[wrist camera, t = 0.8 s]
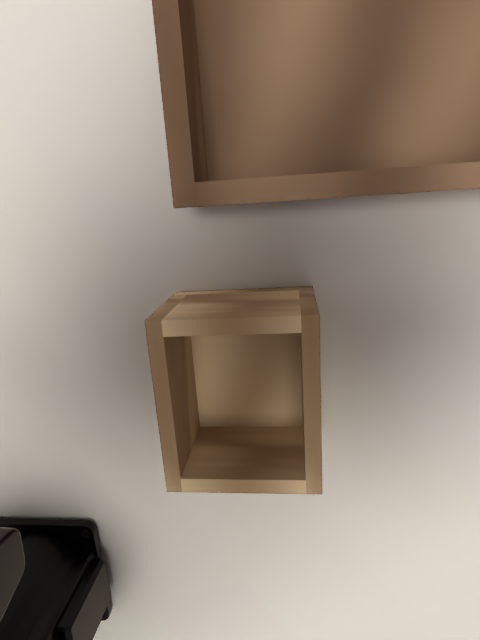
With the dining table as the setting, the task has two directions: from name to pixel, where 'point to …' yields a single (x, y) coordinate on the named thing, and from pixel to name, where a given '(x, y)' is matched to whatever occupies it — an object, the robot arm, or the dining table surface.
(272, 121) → the big crate
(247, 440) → the small crate
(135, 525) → the dining table surface
